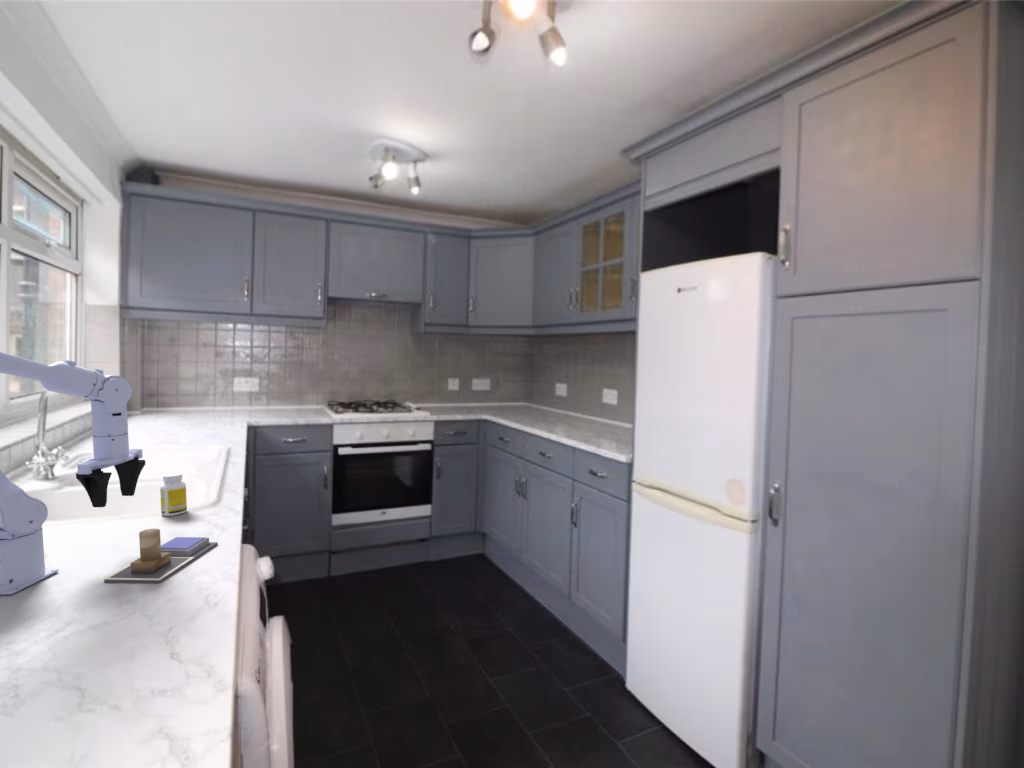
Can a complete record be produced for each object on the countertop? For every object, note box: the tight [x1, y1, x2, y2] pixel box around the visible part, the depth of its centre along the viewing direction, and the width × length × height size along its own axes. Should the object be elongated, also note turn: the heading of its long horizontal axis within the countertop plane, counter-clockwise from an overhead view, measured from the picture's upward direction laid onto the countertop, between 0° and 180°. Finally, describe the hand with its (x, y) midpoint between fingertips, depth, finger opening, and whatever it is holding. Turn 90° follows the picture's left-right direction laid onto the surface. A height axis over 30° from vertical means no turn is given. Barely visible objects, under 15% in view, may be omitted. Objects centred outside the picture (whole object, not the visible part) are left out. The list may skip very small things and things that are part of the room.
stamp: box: [130, 528, 171, 574], centre depth 99 cm, size 5×4×7 cm
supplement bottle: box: [159, 472, 188, 517], centre depth 132 cm, size 5×5×10 cm
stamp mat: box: [103, 536, 219, 584], centre depth 103 cm, size 18×10×2 cm, turn 179°
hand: (114, 500), depth 108 cm, fingers open, 7 cm apart
